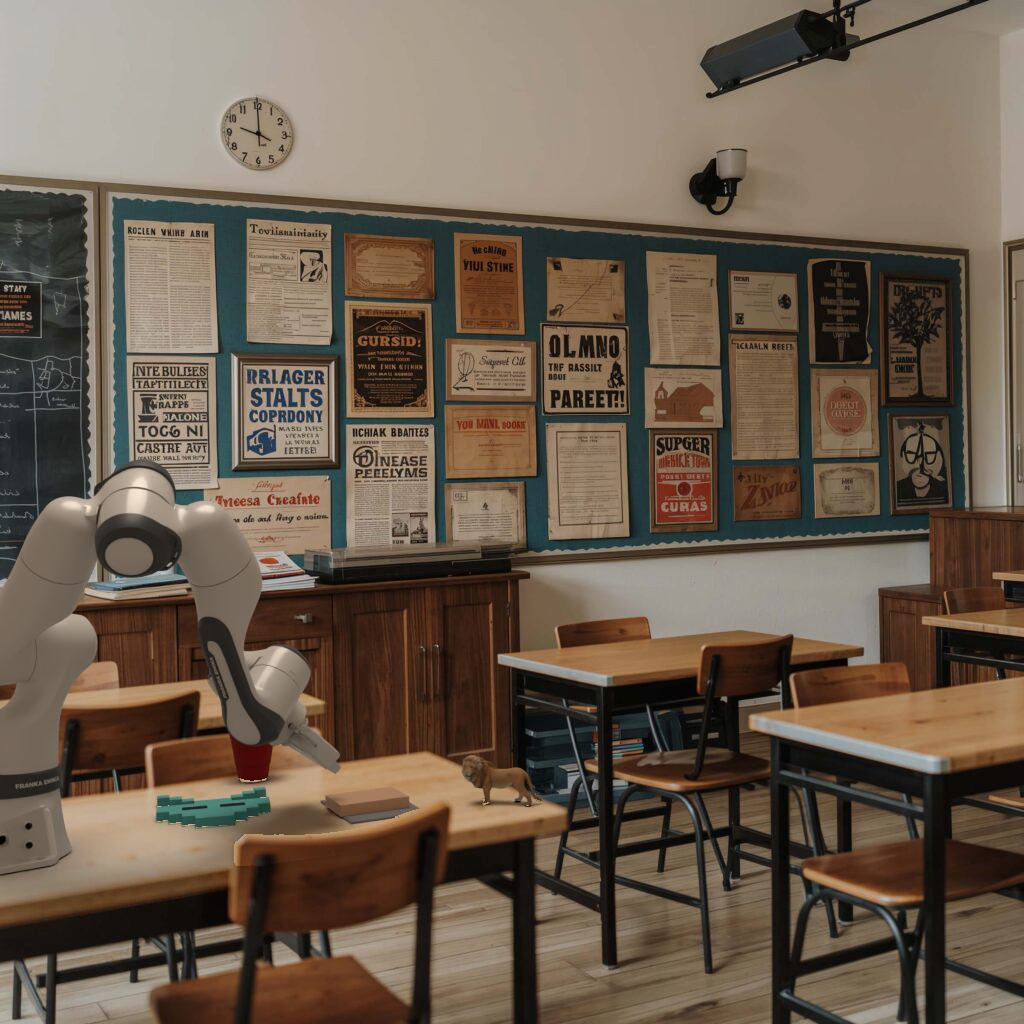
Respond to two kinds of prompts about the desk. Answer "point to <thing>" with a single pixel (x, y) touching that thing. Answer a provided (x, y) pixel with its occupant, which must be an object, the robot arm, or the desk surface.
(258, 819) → the desk surface
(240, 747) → the plastic cup
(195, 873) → the desk surface
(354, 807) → the tile
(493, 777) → the lion figurine
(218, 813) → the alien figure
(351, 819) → the mat
